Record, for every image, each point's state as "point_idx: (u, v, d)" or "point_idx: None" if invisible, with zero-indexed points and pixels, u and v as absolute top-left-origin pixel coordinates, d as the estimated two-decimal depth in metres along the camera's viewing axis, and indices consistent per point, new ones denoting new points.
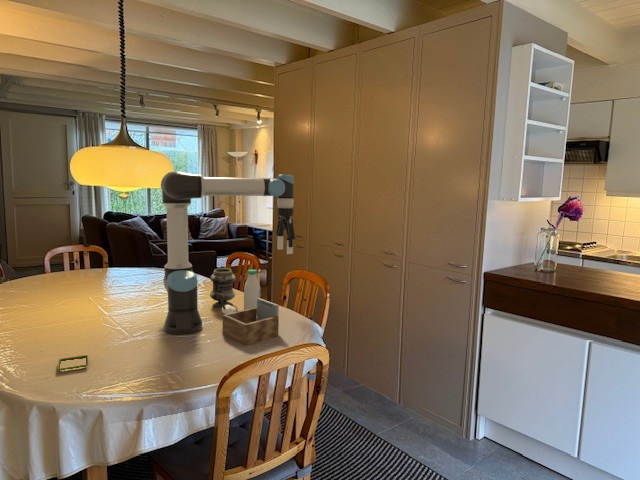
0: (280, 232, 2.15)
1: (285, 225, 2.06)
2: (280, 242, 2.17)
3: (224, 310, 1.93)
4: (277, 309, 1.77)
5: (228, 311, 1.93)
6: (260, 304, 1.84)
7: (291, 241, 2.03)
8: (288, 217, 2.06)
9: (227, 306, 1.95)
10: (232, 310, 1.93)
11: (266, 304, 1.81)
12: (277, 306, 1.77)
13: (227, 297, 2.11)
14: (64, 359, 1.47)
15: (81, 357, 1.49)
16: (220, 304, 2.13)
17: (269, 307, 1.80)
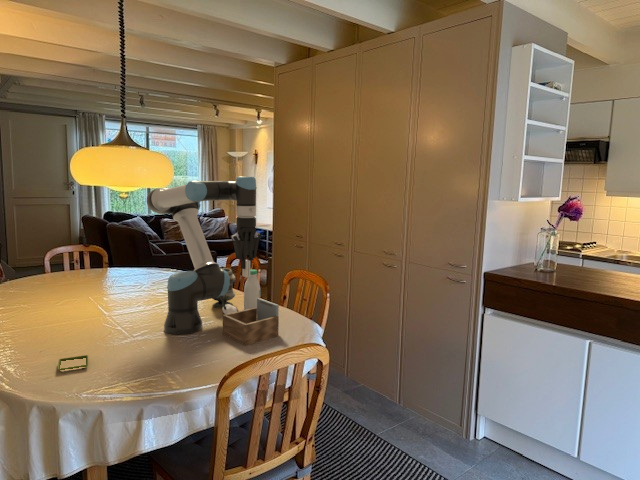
0: (247, 252, 1.72)
1: (240, 240, 1.70)
2: None
3: (225, 310, 1.92)
4: (277, 309, 1.77)
5: (228, 312, 1.92)
6: (260, 304, 1.84)
7: (242, 262, 1.70)
8: (238, 228, 1.67)
9: (228, 306, 1.94)
10: (233, 311, 1.93)
11: (266, 304, 1.81)
12: (277, 306, 1.77)
13: (227, 297, 2.11)
14: (64, 359, 1.47)
15: (81, 357, 1.49)
16: (220, 304, 2.13)
17: (269, 307, 1.80)
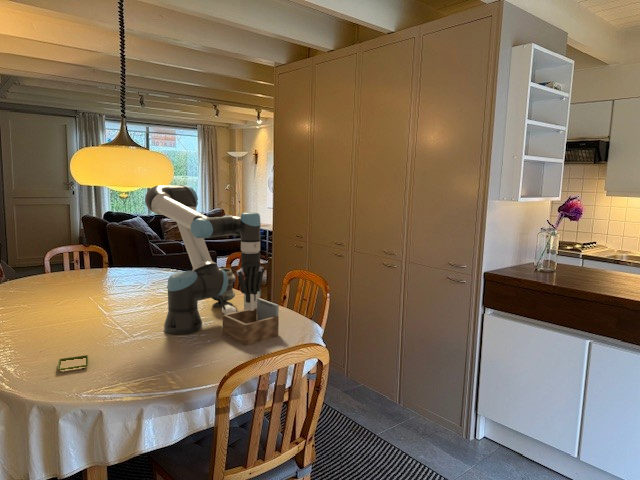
0: (251, 286, 1.76)
1: (245, 275, 1.74)
2: None
3: (224, 310, 1.93)
4: (277, 309, 1.77)
5: (228, 311, 1.92)
6: (260, 304, 1.84)
7: (246, 296, 1.74)
8: (243, 264, 1.71)
9: (227, 306, 1.95)
10: (232, 310, 1.93)
11: (266, 304, 1.81)
12: (277, 306, 1.77)
13: (227, 297, 2.11)
14: (64, 359, 1.47)
15: (81, 357, 1.49)
16: (220, 304, 2.13)
17: (269, 307, 1.80)
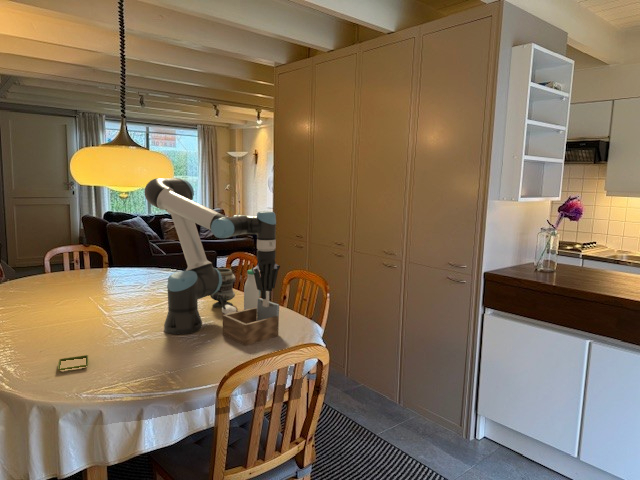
0: None
1: (260, 272, 1.79)
2: None
3: (224, 310, 1.93)
4: (278, 309, 1.78)
5: (228, 311, 1.93)
6: (261, 304, 1.85)
7: (262, 292, 1.79)
8: (259, 261, 1.76)
9: (227, 306, 1.95)
10: (232, 310, 1.93)
11: None
12: (278, 306, 1.77)
13: (227, 297, 2.11)
14: (64, 359, 1.47)
15: (81, 357, 1.49)
16: (220, 304, 2.13)
17: (270, 307, 1.80)
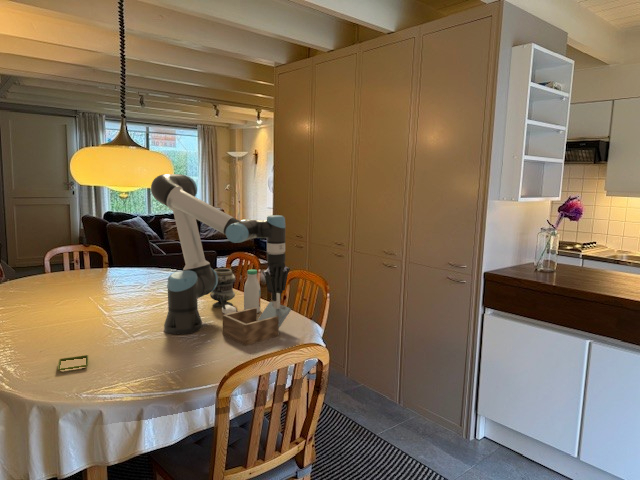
0: (277, 285, 1.85)
1: (271, 274, 1.83)
2: None
3: (224, 310, 1.93)
4: (288, 312, 1.82)
5: (228, 311, 1.93)
6: (271, 306, 1.89)
7: (273, 294, 1.83)
8: (269, 264, 1.80)
9: (227, 306, 1.95)
10: (232, 310, 1.93)
11: None
12: (289, 309, 1.82)
13: (227, 297, 2.11)
14: (64, 359, 1.47)
15: (81, 357, 1.49)
16: (220, 304, 2.13)
17: (280, 309, 1.84)
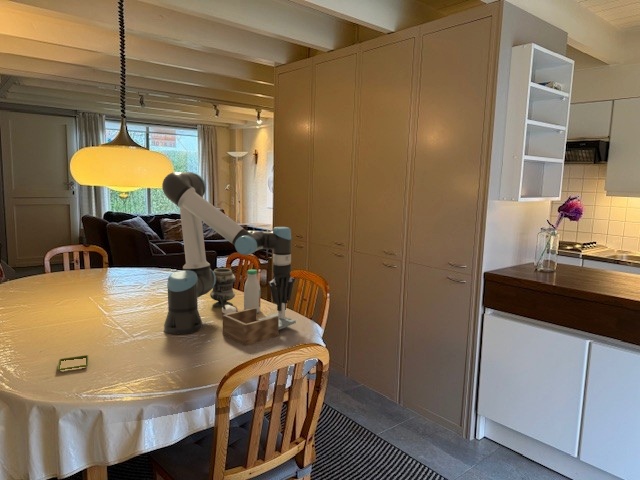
0: (282, 296, 1.87)
1: (276, 285, 1.86)
2: None
3: (224, 310, 1.93)
4: (292, 323, 1.84)
5: (228, 311, 1.93)
6: (276, 315, 1.91)
7: (278, 305, 1.86)
8: (275, 275, 1.83)
9: (227, 306, 1.95)
10: (232, 310, 1.93)
11: None
12: (294, 322, 1.85)
13: (227, 297, 2.11)
14: (64, 359, 1.47)
15: (81, 357, 1.49)
16: (220, 304, 2.13)
17: (285, 319, 1.87)
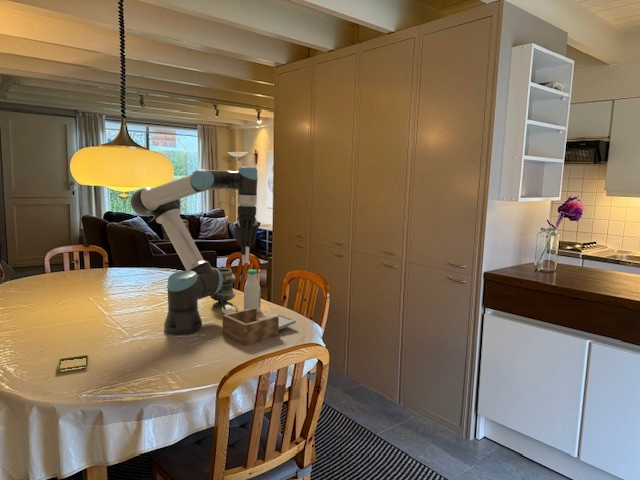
0: None
1: (241, 227, 1.79)
2: None
3: (224, 310, 1.93)
4: (292, 323, 1.84)
5: (228, 311, 1.93)
6: (276, 315, 1.91)
7: (242, 248, 1.79)
8: (239, 216, 1.76)
9: (227, 306, 1.95)
10: (232, 310, 1.93)
11: (284, 317, 1.89)
12: (294, 322, 1.85)
13: (227, 297, 2.11)
14: (64, 359, 1.47)
15: (81, 357, 1.49)
16: (220, 304, 2.13)
17: (285, 319, 1.87)
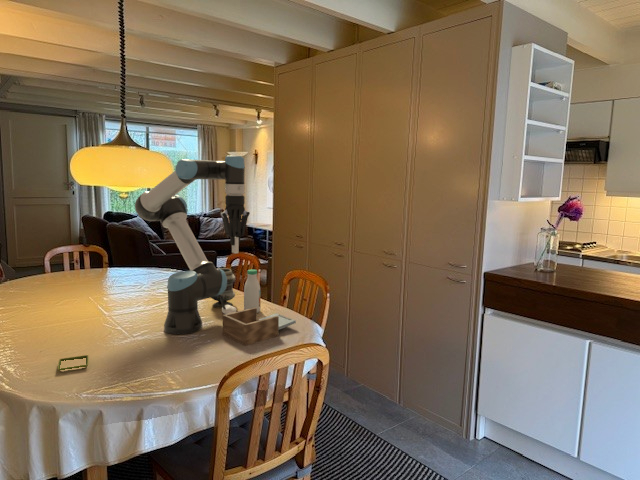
0: (236, 229, 1.79)
1: (229, 217, 1.77)
2: None
3: (224, 310, 1.93)
4: (292, 323, 1.84)
5: (228, 311, 1.93)
6: (276, 315, 1.91)
7: (231, 238, 1.77)
8: (227, 206, 1.74)
9: (227, 306, 1.95)
10: (232, 310, 1.93)
11: (284, 317, 1.89)
12: (294, 322, 1.85)
13: (227, 297, 2.11)
14: (64, 359, 1.47)
15: (81, 357, 1.49)
16: (220, 304, 2.13)
17: (285, 319, 1.87)
